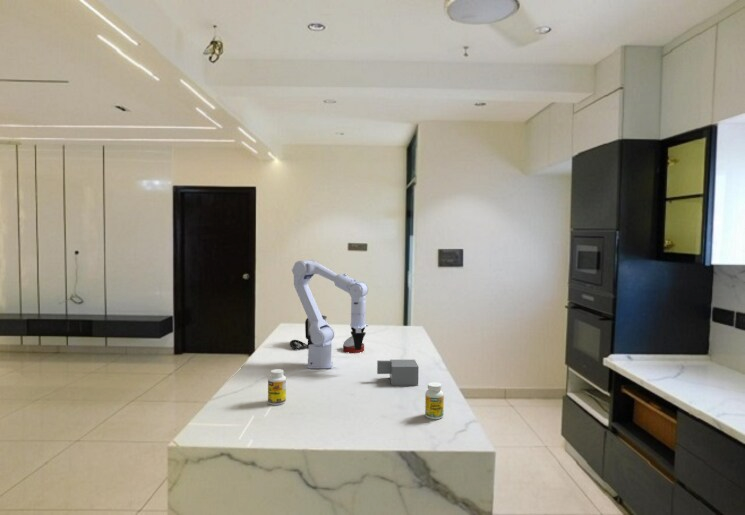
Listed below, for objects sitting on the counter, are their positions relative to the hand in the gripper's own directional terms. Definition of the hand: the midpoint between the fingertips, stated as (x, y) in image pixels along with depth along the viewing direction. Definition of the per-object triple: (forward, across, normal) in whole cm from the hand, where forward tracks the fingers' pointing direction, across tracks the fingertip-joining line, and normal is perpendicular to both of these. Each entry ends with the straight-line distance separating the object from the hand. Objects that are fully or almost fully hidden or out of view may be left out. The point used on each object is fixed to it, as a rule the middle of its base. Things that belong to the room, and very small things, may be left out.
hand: (357, 347), depth 175 cm
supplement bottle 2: (+9, -45, -22) cm, 51 cm away
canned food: (+10, +32, +1) cm, 33 cm away
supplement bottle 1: (+10, -34, +26) cm, 43 cm away
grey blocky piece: (+9, -13, -14) cm, 22 cm away
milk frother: (+10, +37, +23) cm, 44 cm away
